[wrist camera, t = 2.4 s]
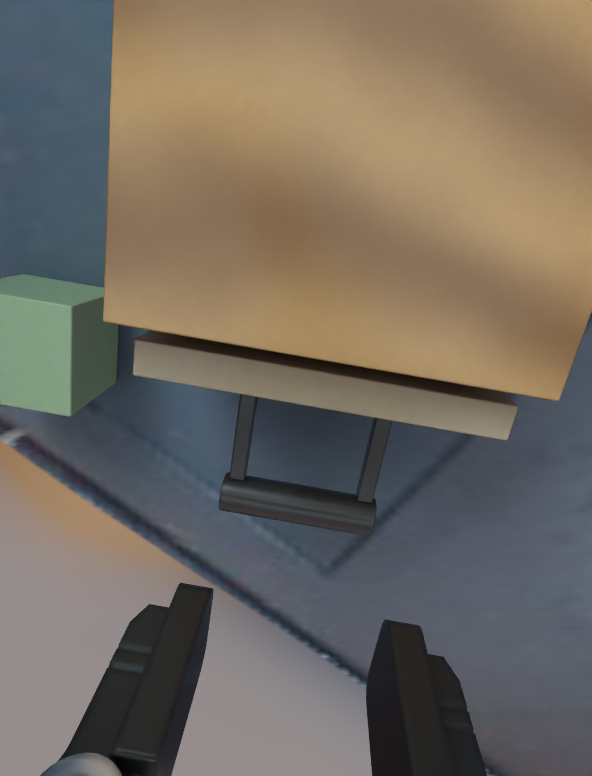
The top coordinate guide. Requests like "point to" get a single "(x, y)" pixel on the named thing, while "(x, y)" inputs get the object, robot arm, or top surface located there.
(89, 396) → the block
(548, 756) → the top surface
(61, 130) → the top surface
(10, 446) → the top surface
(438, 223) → the cabinet
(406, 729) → the robot arm
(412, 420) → the drawer
